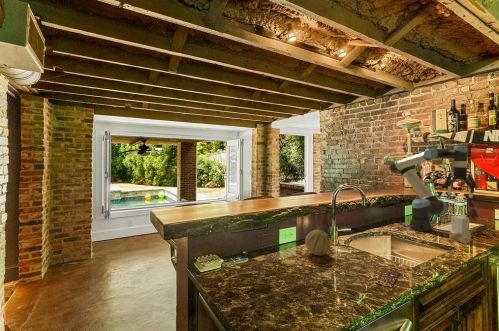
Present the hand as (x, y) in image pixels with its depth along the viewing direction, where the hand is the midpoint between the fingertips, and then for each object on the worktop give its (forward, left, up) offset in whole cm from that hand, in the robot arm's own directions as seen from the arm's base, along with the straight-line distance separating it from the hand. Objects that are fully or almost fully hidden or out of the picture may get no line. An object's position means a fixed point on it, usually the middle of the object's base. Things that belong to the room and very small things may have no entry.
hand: (459, 196), depth 181 cm
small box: (+7, -13, -23) cm, 28 cm away
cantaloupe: (-13, -117, -29) cm, 121 cm away
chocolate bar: (+24, -105, -29) cm, 111 cm away
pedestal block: (+7, -13, -29) cm, 33 cm away
